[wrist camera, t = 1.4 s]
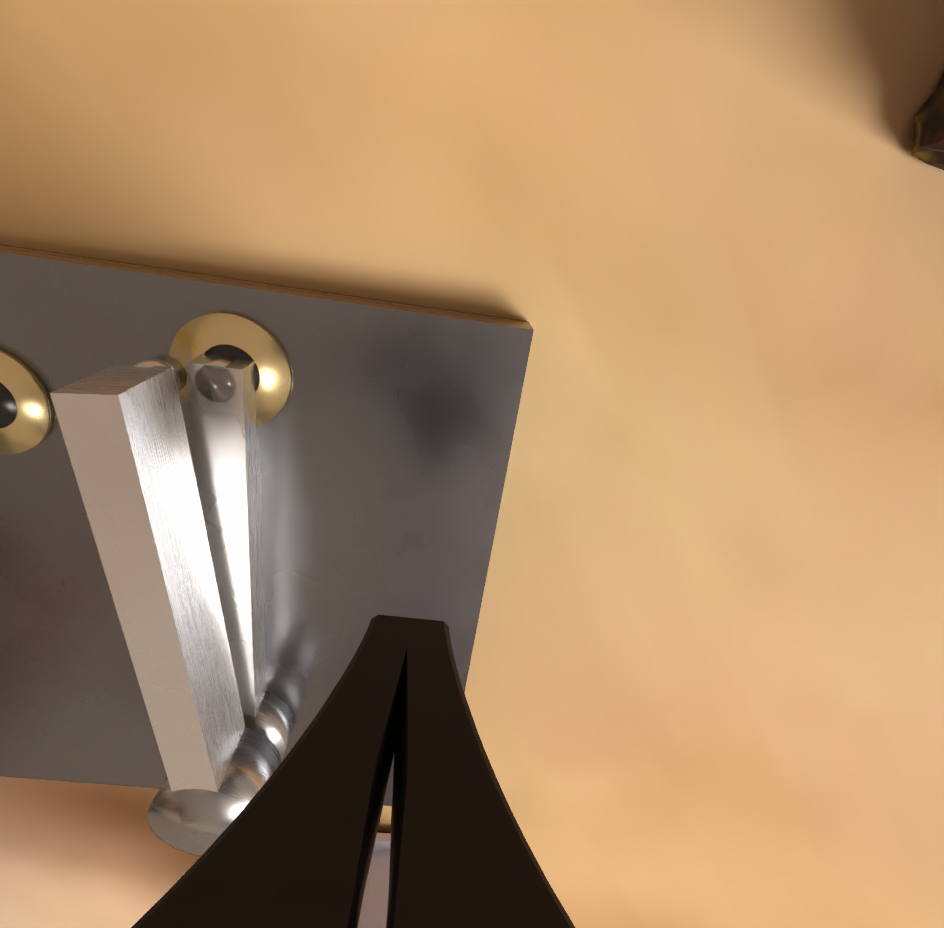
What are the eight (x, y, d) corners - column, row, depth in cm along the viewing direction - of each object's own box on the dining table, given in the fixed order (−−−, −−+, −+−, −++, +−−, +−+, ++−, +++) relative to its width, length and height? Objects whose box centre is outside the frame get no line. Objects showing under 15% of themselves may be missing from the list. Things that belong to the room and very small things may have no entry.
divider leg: (293, 766, 18) (265, 856, 15) (202, 765, 18) (160, 855, 15) (230, 356, 12) (168, 394, 10) (95, 351, 12) (-4, 388, 9)
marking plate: (442, 784, 21) (441, 837, 19) (-44, 745, 20) (-95, 799, 18) (528, 322, 13) (539, 338, 12) (-248, 208, 12) (-373, 207, 10)
